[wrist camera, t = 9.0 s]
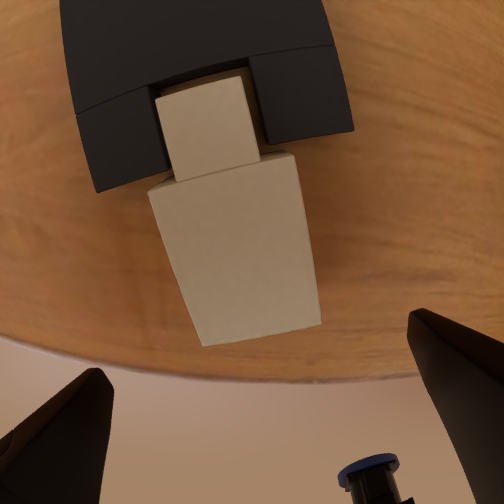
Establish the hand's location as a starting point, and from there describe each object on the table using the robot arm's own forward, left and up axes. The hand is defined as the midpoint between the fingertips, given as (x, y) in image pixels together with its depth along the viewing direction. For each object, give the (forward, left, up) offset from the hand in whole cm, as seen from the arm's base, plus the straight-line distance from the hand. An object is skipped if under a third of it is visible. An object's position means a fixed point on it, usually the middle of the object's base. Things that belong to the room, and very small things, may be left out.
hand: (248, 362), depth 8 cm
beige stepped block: (+2, 0, -9) cm, 9 cm away
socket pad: (+19, 0, -9) cm, 21 cm away
